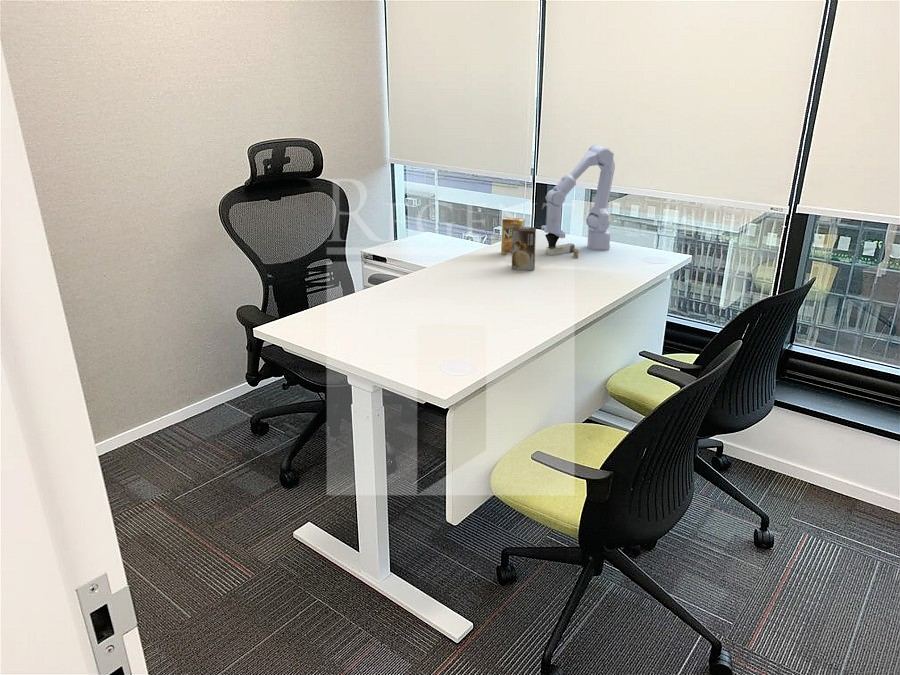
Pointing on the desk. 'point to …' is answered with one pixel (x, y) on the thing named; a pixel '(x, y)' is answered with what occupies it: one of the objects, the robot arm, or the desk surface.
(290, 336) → the desk surface
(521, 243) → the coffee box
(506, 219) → the candy box
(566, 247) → the bar
